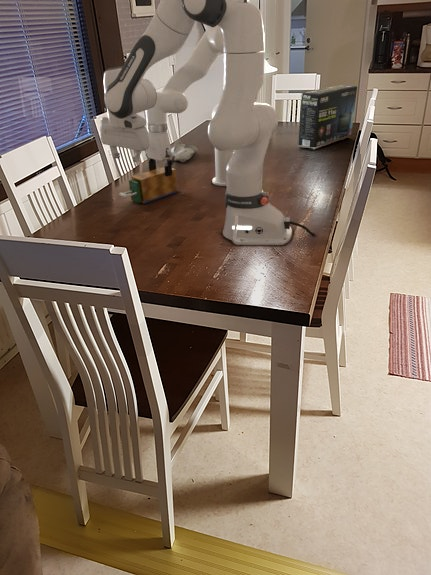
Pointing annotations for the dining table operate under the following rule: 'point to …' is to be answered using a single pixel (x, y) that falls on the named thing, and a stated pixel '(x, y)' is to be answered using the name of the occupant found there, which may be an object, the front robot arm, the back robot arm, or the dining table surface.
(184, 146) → the fossil
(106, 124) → the front robot arm
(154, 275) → the dining table surface
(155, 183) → the cabinet
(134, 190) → the drawer
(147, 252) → the dining table surface
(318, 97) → the router box
